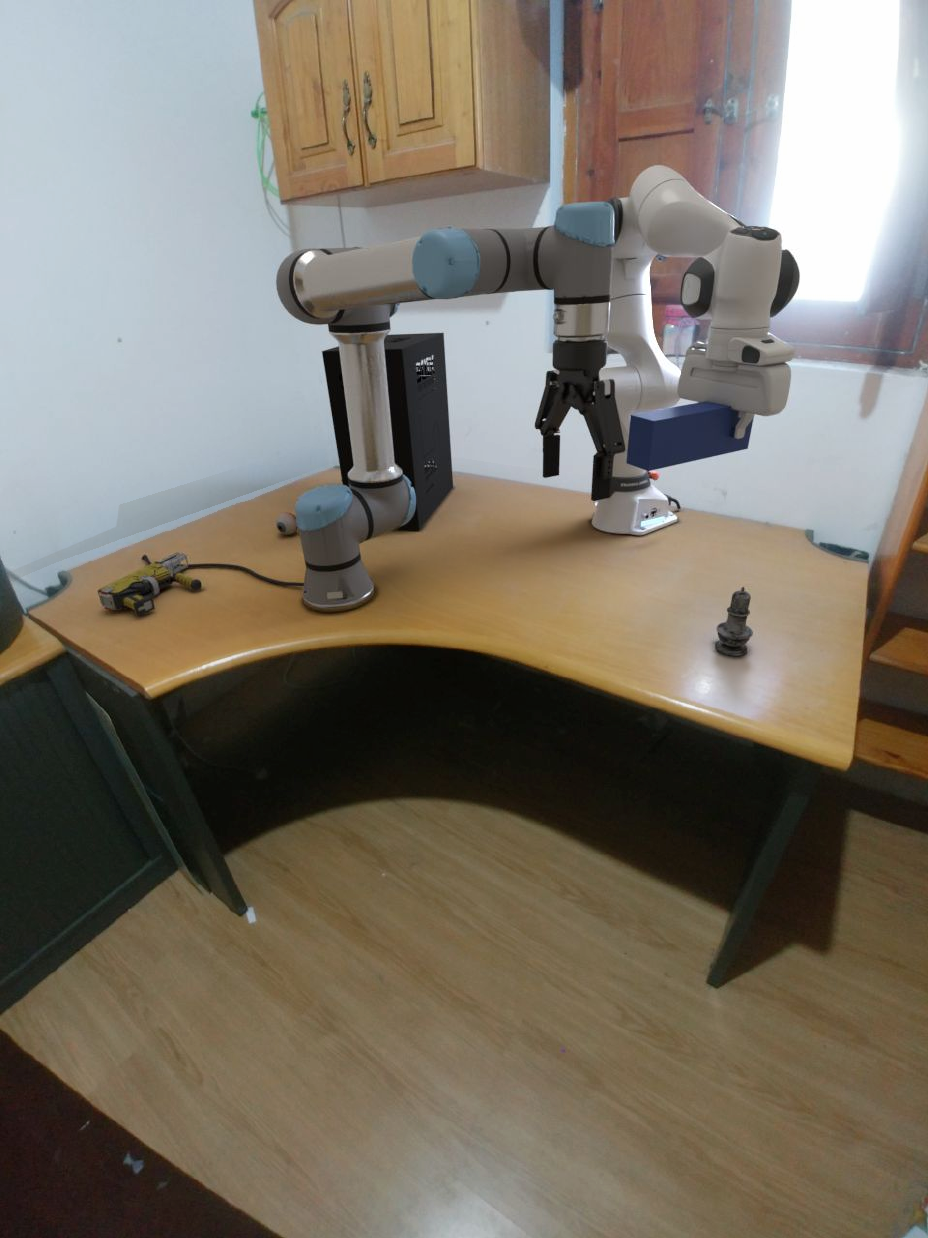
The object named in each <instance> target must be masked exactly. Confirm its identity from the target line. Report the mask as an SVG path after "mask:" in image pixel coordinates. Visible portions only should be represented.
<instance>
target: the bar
mask: <svg viewBox="0 0 928 1238" xmlns="http://www.w3.org/2000/svg"><path fill="white" fill-rule="evenodd" d="M738 415H739V411H737V410H733V409H731V406H727V405H722V404H717V403H713V402H708V401H705V402H700V403H698V402H693V403H689V404H683V405H678V406H673V407H670V408H666V409H661V410H655V411H650V412H644V413H639V414H633V415H631V416H630V428H629V439H628V450H627V461H626V463H627V464H630V465H633V466H635V467H638V468H641V469H643V470H646V471H649V472H651V471H656V470H659V469H664V468H668V467H673V466H677V465H682V464H686V463H691V462H695V461H699V460H705V459H709V458H714V457H717V456H721V455H727V454H730V453H735V452H740V451H744V450H748V449H749V444H750V439H751V434H752V428H753V423H754V419H755V418H753V419H752V421H751V422H750V423H749V424H748V426H747V427H746V429H745V434H744V437H743V438H740V439H736V438H732V437H731V436H730V433H731V427H733V426H736V425H737V424H738V422H739V421H740V419H741V418H739V417H738Z"/></svg>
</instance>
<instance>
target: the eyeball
mask: <svg viewBox="0 0 928 1238" xmlns="http://www.w3.org/2000/svg"><path fill="white" fill-rule="evenodd" d="M275 527H276V529H277V530H278V531H279V532H280V533H281V534H282V535H285V536H286V535H287V536H289V535H293V534H295V533H296V532H297V531H298V527H297V525H296V514H295V513H292V512H287V511H286V512H282V513H280V514H279V515H278V516H277V517H276V520H275Z"/></svg>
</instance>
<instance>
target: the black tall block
mask: <svg viewBox="0 0 928 1238" xmlns="http://www.w3.org/2000/svg"><path fill="white" fill-rule="evenodd" d="M384 350H385V362H386V373H387V384H388V395H389V406H390V417H391V429H392V440H393V451H394V462H395V464H396V465H398V466H399V467H400V468H401V469H402V472H403V475H405V476H406V477H407V478H408V479H409V480H410V482H411V487H413V488H414V491H415V495H416V508H415V512H414V515H413V517H412V518H411V520H410V521H409V522H408V523H406V524H405V525H403V526H401V527H399V528H398V529H396V530H395V531H416V532H417V531H418V532H419V531H421V529H422V528H423V527H424V526H425V524H426V523H427V522H428V520H429V519H430V518H431V516H433V514H434V513H435V511H436V510H437V508H439V506H440V505H441V503H442V502H443V501H444V499H445V498H446V497H447V496H448V494H449V493H450V492H451V490H452V489H453V488H454V480H453V479H454V477H453V463H452V462H453V461H452V447H451V446H452V445H451V429H450V414H449V413H450V411H449V396H448V381H447V366H446V365H447V364H446V350H445V333H444V332H426V333H400V334H399V333H397V334H395V333H394V334H387V336H386V337H385V339H384ZM321 355H322V361H323V367H324V375H325V380H326V386H327V393H328V399H329V405H330V412H331V419H332V425H333V431H334V437H335V445H336V451H337V457H338V464H339V470H340V477H341V484H343V485H346V486H348V487H349V481H348V473H349V471H350V470H351V469H352V468H353V466H354V463H353V455H352V447H351V439H350V431H349V423H348V415H347V407H346V399H345V391H344V383H343V375H342V367H341V359H340V351H339V345H338V346H335V347H332V348H328V349H324V350H322V351H321ZM418 363H419V364H418ZM417 364H418V365H417Z"/></svg>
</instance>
